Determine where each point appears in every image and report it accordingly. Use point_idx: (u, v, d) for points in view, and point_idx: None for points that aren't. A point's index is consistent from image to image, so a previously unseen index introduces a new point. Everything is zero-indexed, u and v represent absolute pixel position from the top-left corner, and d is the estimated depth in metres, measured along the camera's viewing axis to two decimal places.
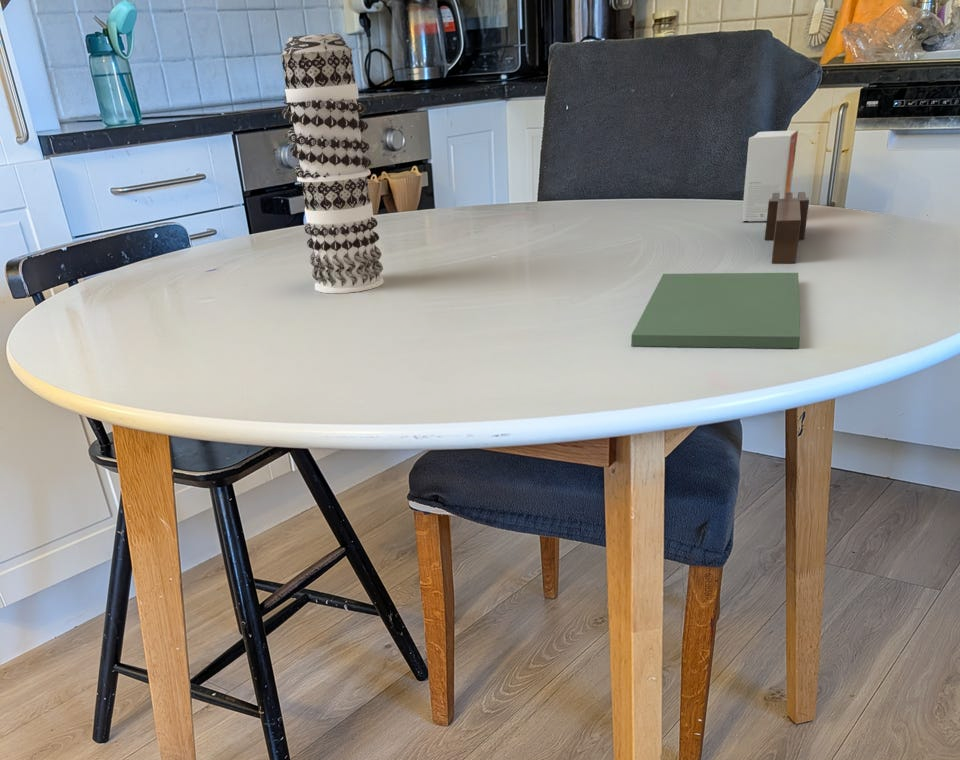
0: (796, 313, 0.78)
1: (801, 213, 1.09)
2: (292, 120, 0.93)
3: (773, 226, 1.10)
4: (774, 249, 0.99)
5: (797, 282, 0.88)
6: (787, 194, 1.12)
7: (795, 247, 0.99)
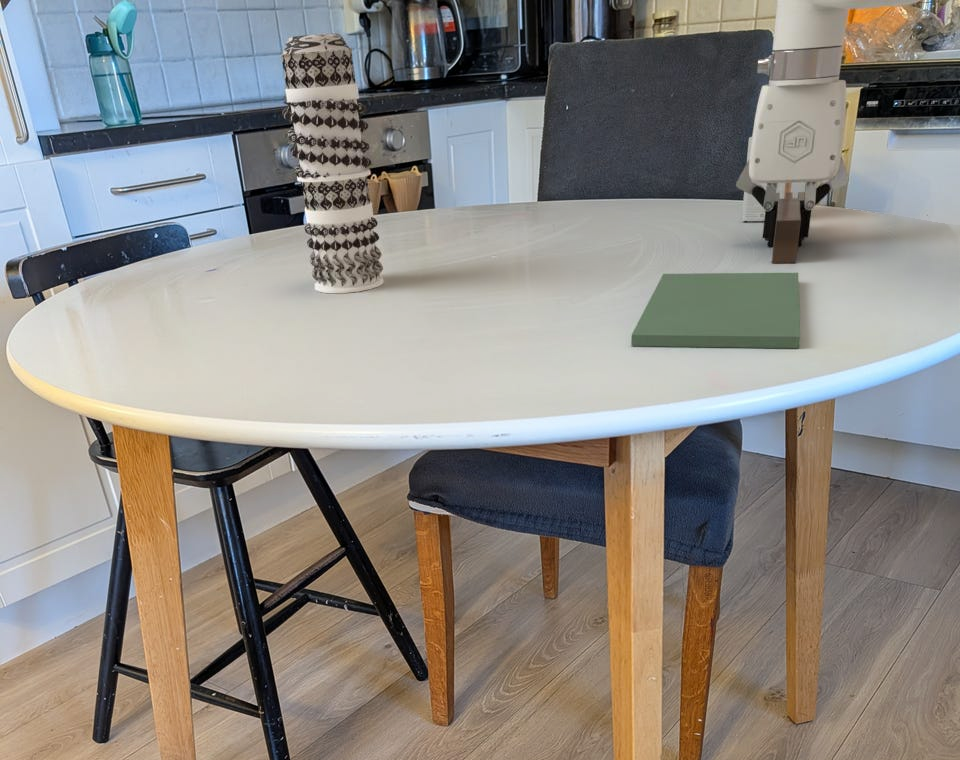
0: (796, 313, 0.78)
1: None
2: (292, 120, 0.93)
3: None
4: (774, 249, 0.99)
5: (797, 282, 0.88)
6: (787, 194, 1.12)
7: (795, 247, 0.99)
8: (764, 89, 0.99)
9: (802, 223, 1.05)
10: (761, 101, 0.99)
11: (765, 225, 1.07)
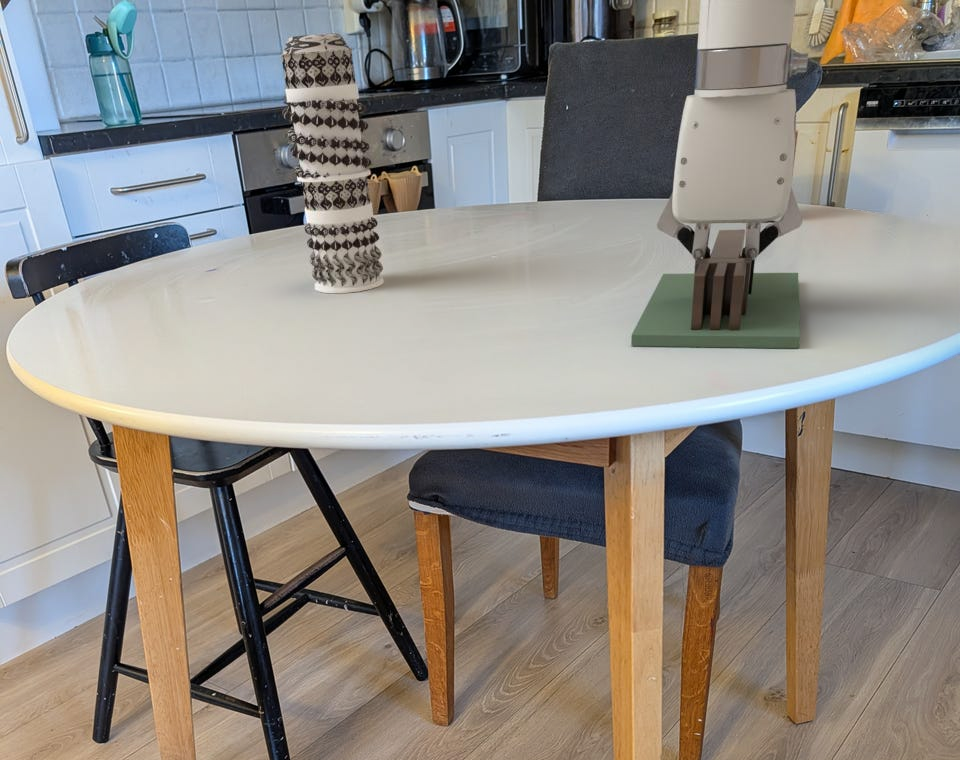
0: (796, 313, 0.78)
1: None
2: (292, 120, 0.93)
3: None
4: None
5: (797, 282, 0.88)
6: (722, 270, 0.75)
7: None
8: None
9: None
10: None
11: None
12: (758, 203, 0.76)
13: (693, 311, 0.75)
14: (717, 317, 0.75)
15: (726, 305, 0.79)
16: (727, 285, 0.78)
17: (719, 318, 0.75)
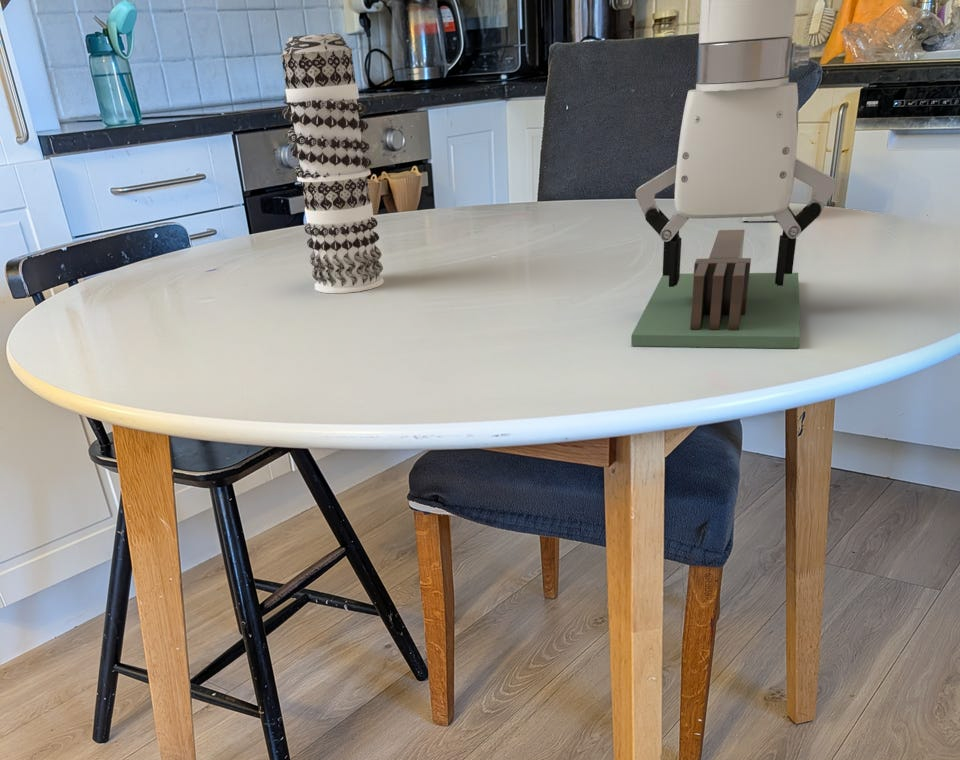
0: (796, 313, 0.78)
1: None
2: (292, 120, 0.93)
3: None
4: None
5: (797, 282, 0.88)
6: (722, 270, 0.75)
7: None
8: None
9: None
10: None
11: None
12: (761, 197, 0.76)
13: (692, 311, 0.75)
14: (716, 317, 0.75)
15: (725, 305, 0.79)
16: (726, 285, 0.78)
17: (718, 318, 0.75)
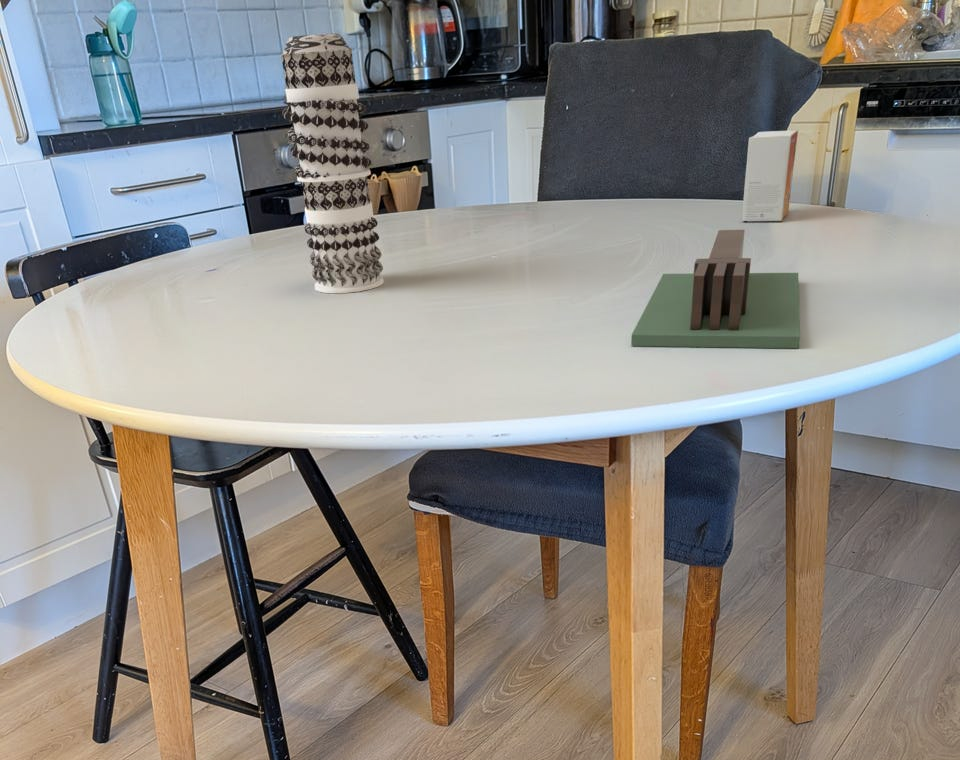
0: (796, 313, 0.78)
1: None
2: (292, 120, 0.93)
3: None
4: None
5: (797, 282, 0.88)
6: (722, 270, 0.75)
7: None
8: None
9: None
10: None
11: None
12: None
13: (692, 311, 0.75)
14: (716, 317, 0.75)
15: (725, 305, 0.79)
16: (726, 285, 0.78)
17: (718, 318, 0.75)
